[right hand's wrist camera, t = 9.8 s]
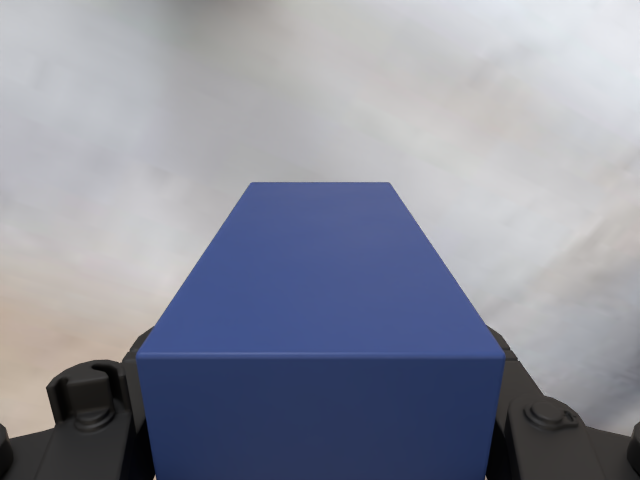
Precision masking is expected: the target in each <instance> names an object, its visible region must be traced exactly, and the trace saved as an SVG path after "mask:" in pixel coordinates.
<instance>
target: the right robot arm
mask: <svg viewBox="0 0 640 480" xmlns="http://www.w3.org/2000/svg"><path fill="white" fill-rule="evenodd" d="M486 326H487V325H486ZM487 327H488V326H487ZM153 328H154V326H153V327H152V328H151V329H149V330H148V331H146V332H145V333H143V334H142V335H141V336H139V337H138V338H137V340H136V341H135V343H134V344H133V346H132V347H131V348H130V352H128V353H127V354H126V355H125V357H124V358H123V360H122V363H119V362H115V361H111V360H93V361H89V362H85V363H80V364H78V365H75V366H73V367H71V368H69V369H66V370H64V371H63V372H62V373H60V374H59V375H57V376H56V377H54V378H53V379H52V381H51V382H50V383H49V384H48V386H47V387H46V390H47V393H48V397H49V401H50V405H51V409H52V412H53V416H54V420H55V424H56V425H55V427H54V428H52V429H49V430H45V431H42V432H37V433H33V434H28V435H24V436H20V437H15V438H11V439H9V437H8V434H7V431H6V428H5V427H4V426H3V425H2V424H0V480H153V479H154V476H155V468H154V462H153V456H152V451H151V445H150V439H149V433H148V427H147V422H146V416H145V410H144V404H143V398H142V393H141V387H140V381H139V375H138V369H137V364H136V354H137V352H138V350H139V349H140V347H141V346H142V344H143V343H144V341H145V340H146V338H147V337H148V335H149V334H150V332H151V331H152V329H153ZM488 329H489V330H490V332H491V333H492V335H493V336H494V338H495V339H496V341H497V342H498V344H499V345H500V347H501V348H502V350H503V351H504V353H505V356H506V360H505V366H504V371H503V377H502V383H501V389H500V394H499V400H498V406H497V412H496V417H495V423H494V429H493V435H492V440H491V446H490V452H489V458H488V463H487V469H486V477H487V480H640V422H639V423H637V424H636V425H635V426H634V429H633V433H632V436H631V437H629V436H624V435H620V434H615V433H611V432H606V431H602V430H598V429H594V428H591V427H587V426H585V424H584V422H583V421H582V419H581V418H580V416H579V415H578V414H577V413H576V412H575V411H574V410H572V409H571V408H570V407H569V406H567V405H566V404H564V403H562V402H560V401H558V400H556V399H554V398H551V397H547V396H544V395H543V394H542V392H541V391H540V389H539V388H538V387H537V385H536V384H535V382H534V381H533V379H532V378H531V377H530V375H529V374H528V372H527V371H526V370H525V368H524V367H523V365H522V364H521V363H520V361H518V358H517V357H516V355H515V354H514V353H513V351H512V350H510V347H509V346H508V344H507V343H506V341H505V340H504V338H503V337H502V336H501V335H500V334H499V333H497V332H496V331H494V330H493V329H491V328H490V327H488Z"/></svg>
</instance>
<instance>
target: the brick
mask: <svg viewBox="0 0 640 480" xmlns="http://www.w3.org/2000/svg"><path fill="white" fill-rule="evenodd" d="M505 360H506V356H505V353H504V351H503V350H502V348H501V347H500V345H499V344H498V342H497V341H496V339H495V338H494V336H493V335H492V333H491V332H490V330H489V329H488V327H487V326H486V324H485V323H484V322H483V320H482V319H481V317H480V316H479V314H478V313H477V311H476V310H475V308H474V307H473V305H472V304H471V302H470V301H469V299H468V298H467V296H466V295H465V293H464V292H463V290H462V289H461V287H460V286H459V285H458V283H457V282H456V280H455V279H454V277H453V276H452V274H451V273H450V271H449V270H448V268H447V267H446V265H445V264H444V262H443V261H442V259H441V258H440V256H439V255H438V253H437V252H436V250H435V249H434V248H433V246H432V245H431V243H430V242H429V240H428V239H427V237H426V236H425V234H424V233H423V231H422V230H421V228H420V227H419V225H418V224H417V222H416V221H415V219H414V218H413V216H412V215H411V213H410V212H409V211H408V209H407V208H406V206H405V205H404V203H403V202H402V200H401V199H400V197H399V196H398V194H397V193H396V191H395V190H394V188H393V187H392V185H391V184H390V183H389V182H252V183H250V185H249V186H248V188H247V189H246V191H245V192H244V194H243V195H242V197H241V198H240V200H239V201H238V203H237V204H236V206H235V207H234V208H233V210H232V211H231V213H230V214H229V216H228V217H227V219H226V220H225V222H224V223H223V225H222V226H221V228H220V229H219V231H218V232H217V234H216V235H215V237H214V238H213V240H212V241H211V243H210V244H209V246H208V247H207V249H206V250H205V252H204V253H203V255H202V256H201V258H200V259H199V261H198V262H197V264H196V265H195V267H194V268H193V270H192V271H191V273H190V274H189V276H188V277H187V279H186V280H185V282H184V283H183V285H182V286H181V288H180V289H179V290H178V292H177V293H176V295H175V296H174V298H173V299H172V301H171V302H170V304H169V305H168V307H167V308H166V310H165V311H164V313H163V314H162V316H161V317H160V319H159V320H158V322H157V323H156V325H155V326H154V328H153V329H152V331H151V332H150V334H149V335H148V337H147V338H146V340H145V341H144V343H143V344H142V346H141V347H140V349H139V350H138V352H137V354H136V364H137V369H138V375H139V381H140V387H141V393H142V398H143V404H144V410H145V416H146V422H147V427H148V433H149V439H150V445H151V451H152V456H153V462H154V468H155V474H156V480H485V475H486V469H487V463H488V458H489V452H490V446H491V440H492V435H493V429H494V423H495V417H496V412H497V406H498V400H499V394H500V389H501V383H502V377H503V371H504V366H505Z"/></svg>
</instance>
